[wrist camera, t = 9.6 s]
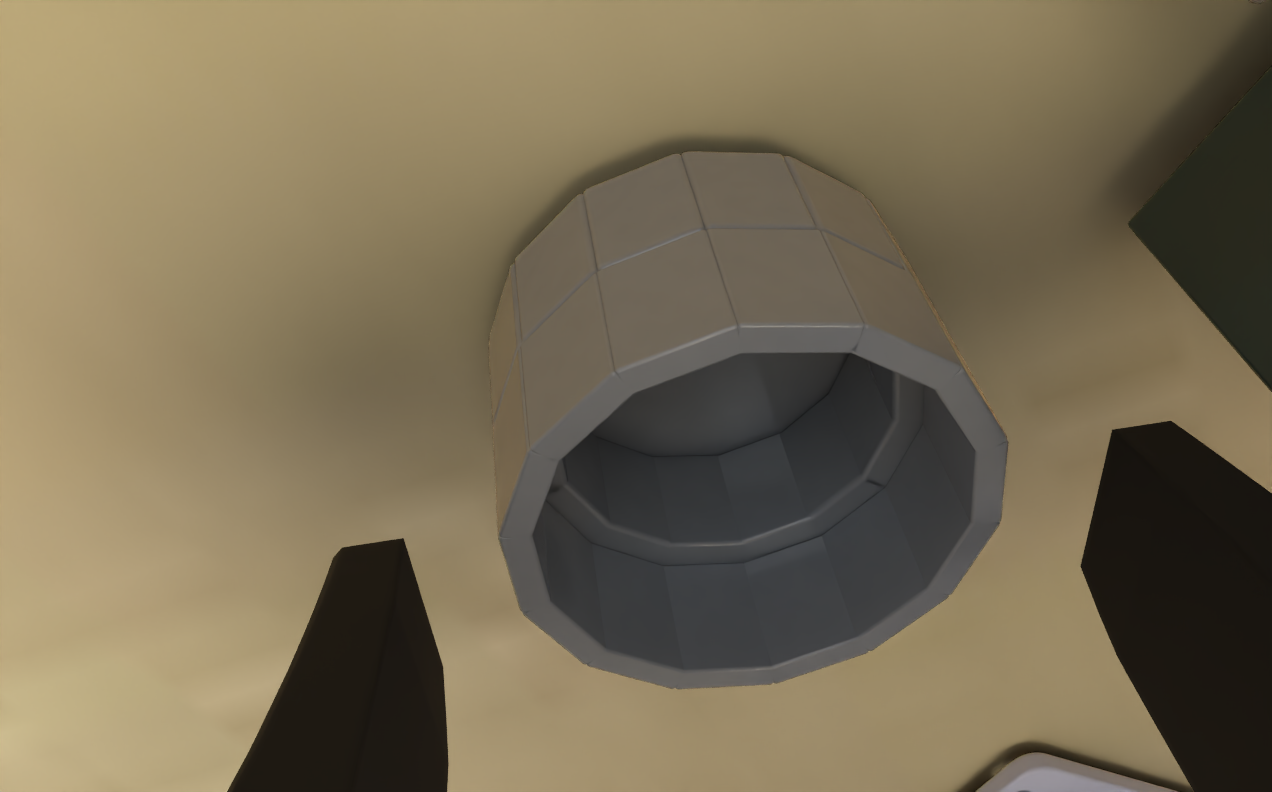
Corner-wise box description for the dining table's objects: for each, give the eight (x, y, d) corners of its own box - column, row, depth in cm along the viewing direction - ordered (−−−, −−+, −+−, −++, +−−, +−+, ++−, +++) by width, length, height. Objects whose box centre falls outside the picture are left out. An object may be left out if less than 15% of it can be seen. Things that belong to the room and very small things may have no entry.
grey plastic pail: (753, 514, 18) (815, 729, 15) (417, 396, 15) (413, 620, 13) (984, 242, 15) (1114, 436, 12) (621, 52, 13) (673, 236, 10)
